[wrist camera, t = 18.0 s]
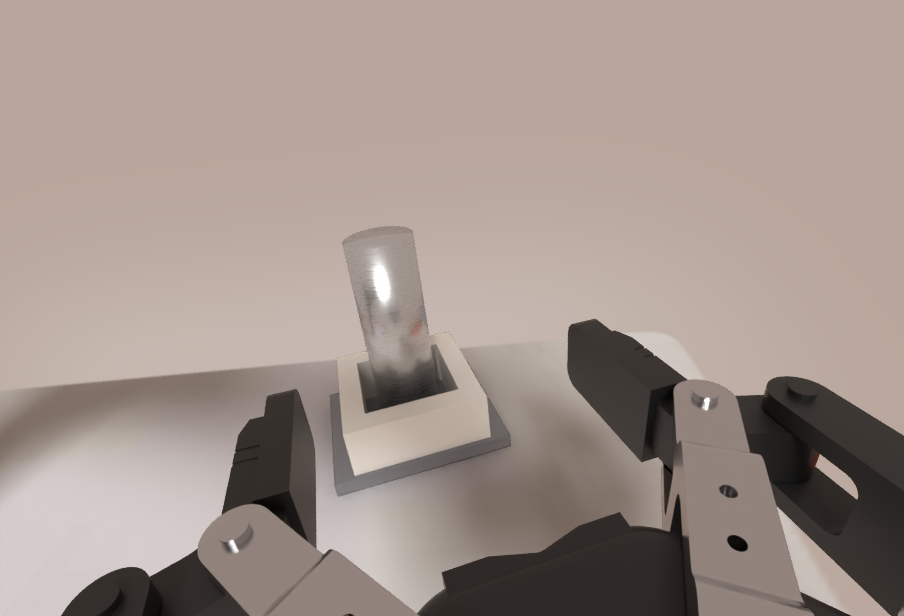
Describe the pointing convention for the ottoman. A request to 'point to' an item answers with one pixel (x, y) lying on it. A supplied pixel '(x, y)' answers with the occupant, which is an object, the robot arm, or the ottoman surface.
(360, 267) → the silver metal cylinder
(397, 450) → the dock
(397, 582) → the ottoman surface
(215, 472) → the ottoman surface
